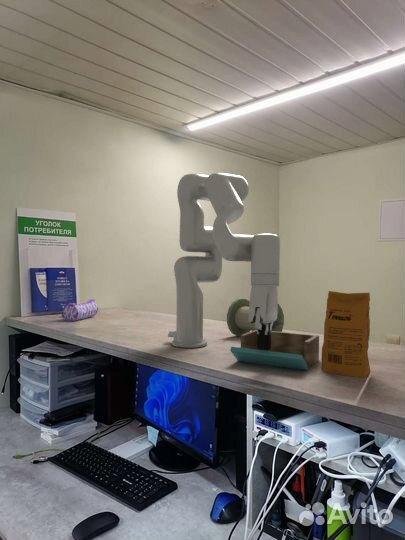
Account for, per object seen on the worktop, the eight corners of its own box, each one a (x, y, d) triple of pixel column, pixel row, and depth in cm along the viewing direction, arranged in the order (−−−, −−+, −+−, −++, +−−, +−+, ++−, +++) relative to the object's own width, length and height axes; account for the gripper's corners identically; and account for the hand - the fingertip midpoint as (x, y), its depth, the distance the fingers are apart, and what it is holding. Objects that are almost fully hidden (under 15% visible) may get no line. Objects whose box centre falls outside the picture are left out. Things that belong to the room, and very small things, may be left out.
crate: (240, 362, 119) (240, 335, 119) (255, 354, 129) (255, 329, 129) (308, 371, 109) (308, 342, 109) (318, 362, 120) (319, 335, 119)
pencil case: (77, 322, 196) (77, 303, 196) (60, 321, 198) (60, 302, 198) (99, 316, 217) (99, 299, 217) (83, 316, 220) (83, 298, 219)
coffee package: (327, 366, 115) (328, 289, 115) (373, 373, 108) (375, 291, 108) (316, 374, 107) (317, 291, 106) (365, 382, 100) (367, 293, 99)
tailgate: (238, 361, 118) (230, 350, 112) (239, 358, 118) (231, 346, 113) (307, 371, 108) (301, 359, 103) (308, 367, 109) (302, 355, 103)
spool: (226, 337, 160) (226, 299, 159) (252, 333, 169) (252, 297, 169) (258, 343, 147) (258, 303, 147) (283, 339, 157) (284, 300, 157)
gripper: (261, 279, 115) (260, 343, 116) (240, 281, 102) (239, 352, 103) (287, 280, 112) (286, 346, 112) (268, 281, 99) (267, 356, 99)
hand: (264, 349), depth 107 cm, fingers closed
